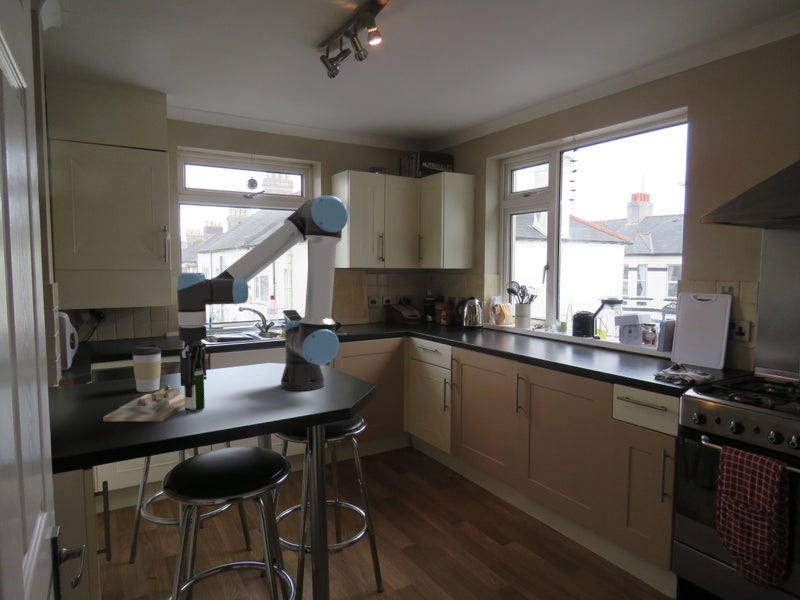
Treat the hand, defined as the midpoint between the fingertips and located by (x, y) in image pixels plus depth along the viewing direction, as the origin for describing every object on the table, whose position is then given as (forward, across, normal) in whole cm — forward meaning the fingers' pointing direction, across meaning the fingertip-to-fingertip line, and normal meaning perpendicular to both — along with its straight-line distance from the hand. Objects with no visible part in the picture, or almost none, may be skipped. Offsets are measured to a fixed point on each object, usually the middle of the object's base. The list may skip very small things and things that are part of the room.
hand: (194, 404), depth 148 cm
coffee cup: (+2, -25, -26) cm, 36 cm away
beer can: (+2, 0, 0) cm, 2 cm away
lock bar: (0, -10, -13) cm, 16 cm away
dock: (+2, -2, -13) cm, 13 cm away
